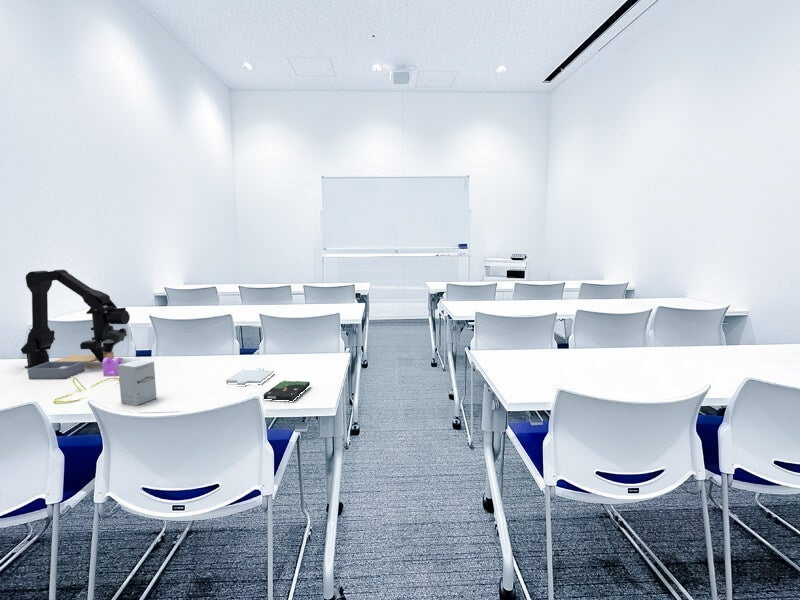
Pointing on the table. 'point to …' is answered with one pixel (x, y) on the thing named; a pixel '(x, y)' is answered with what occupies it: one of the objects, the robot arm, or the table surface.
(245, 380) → the mounting plate
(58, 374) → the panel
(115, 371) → the bracket
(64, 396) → the yellow cable
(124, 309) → the robot arm
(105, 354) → the tan board with handle
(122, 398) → the supplement box
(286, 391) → the disk drive
